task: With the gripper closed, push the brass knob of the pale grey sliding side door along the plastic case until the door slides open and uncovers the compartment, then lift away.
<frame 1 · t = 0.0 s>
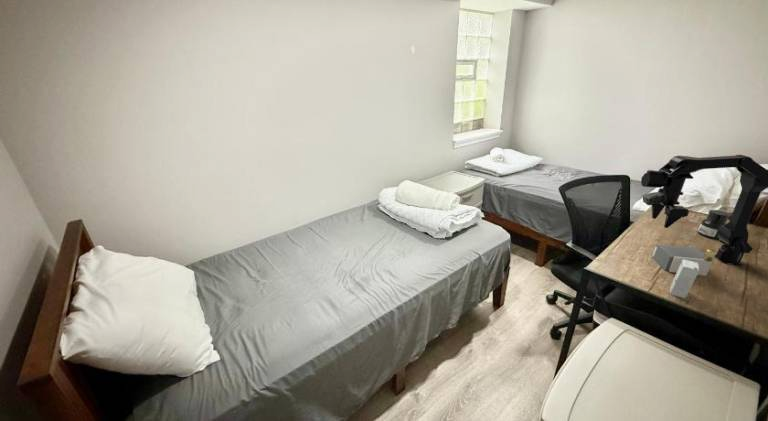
hand: (659, 222, 131), 15 cm above the table, tool pointing down, fingers open, 9 cm apart
side door: (692, 261, 120), point 6 cm above the table, slide at 0.0 cm
case: (677, 265, 127), on the table
ink bottle: (709, 235, 151), on the table
skincare box: (677, 293, 112), on the table
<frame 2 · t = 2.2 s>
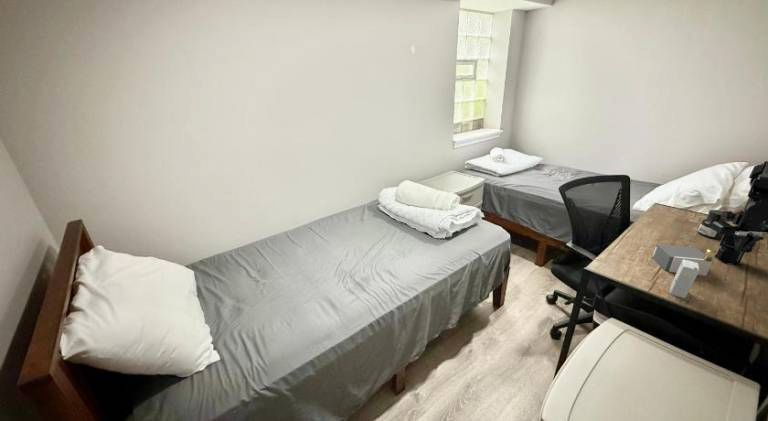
hand: (737, 250, 115), 12 cm above the table, tool pointing down, fingers closed
nothing on the table moved.
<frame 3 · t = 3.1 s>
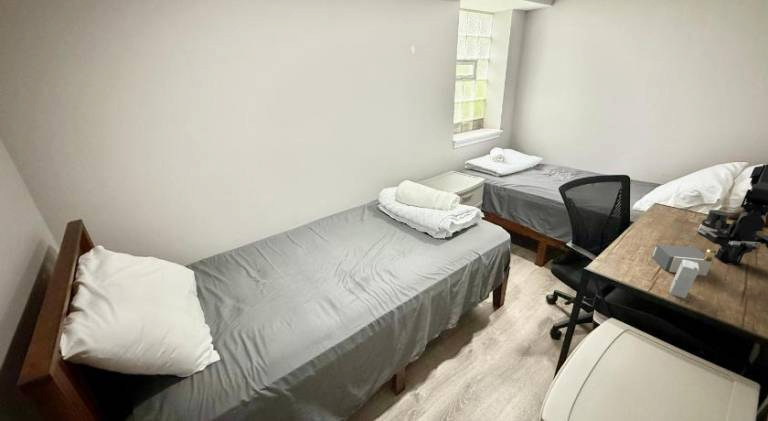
hand: (731, 259, 116), 8 cm above the table, tool pointing down, fingers closed
nothing on the table moved.
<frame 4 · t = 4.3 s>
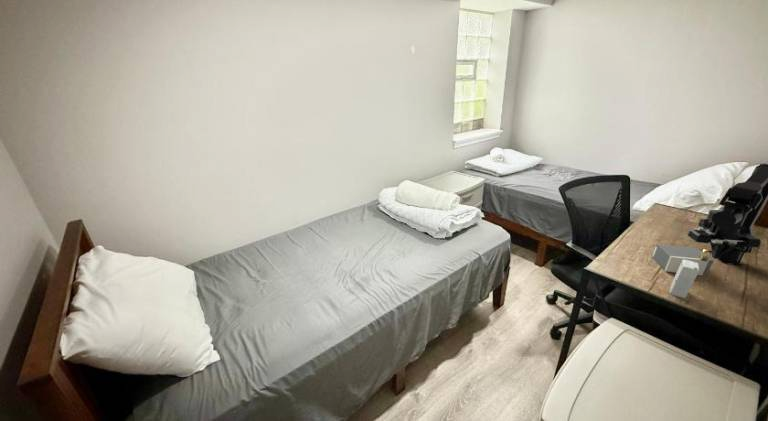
hand: (714, 258, 117), 8 cm above the table, tool pointing down, fingers closed
side door: (688, 261, 120), point 6 cm above the table, slide at 1.3 cm, touching gripper
everything else where it was.
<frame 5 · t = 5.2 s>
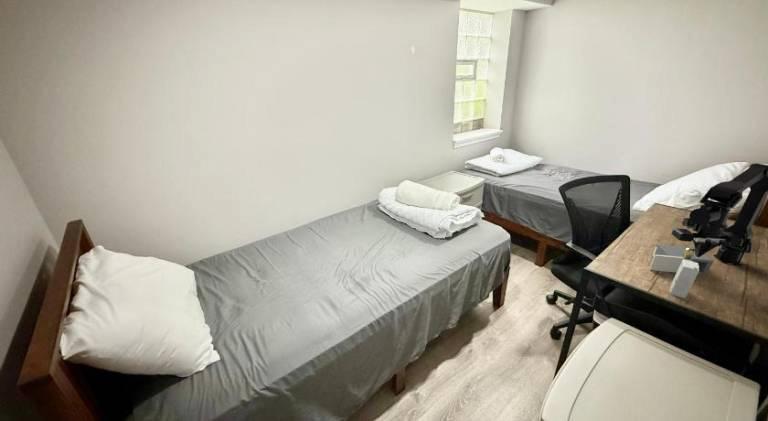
hand: (697, 256, 119), 8 cm above the table, tool pointing down, fingers closed
side door: (671, 259, 121), point 6 cm above the table, slide at 6.6 cm, touching gripper
everything else where it was.
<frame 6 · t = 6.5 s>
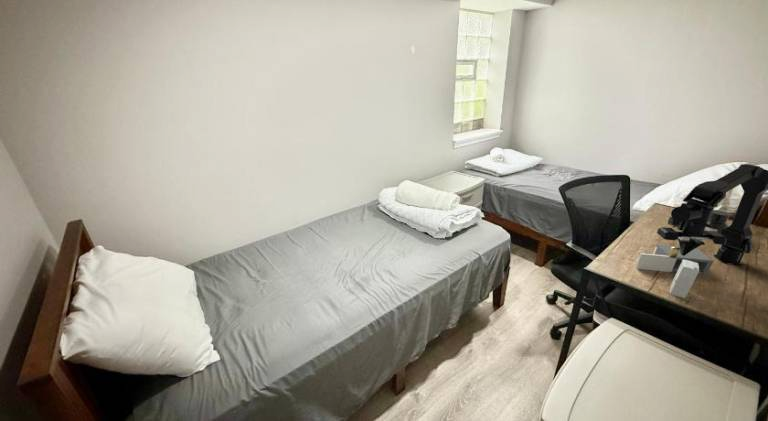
hand: (682, 255, 120), 8 cm above the table, tool pointing down, fingers closed
side door: (657, 258, 123), point 6 cm above the table, slide at 11.4 cm, touching gripper
everything else where it was.
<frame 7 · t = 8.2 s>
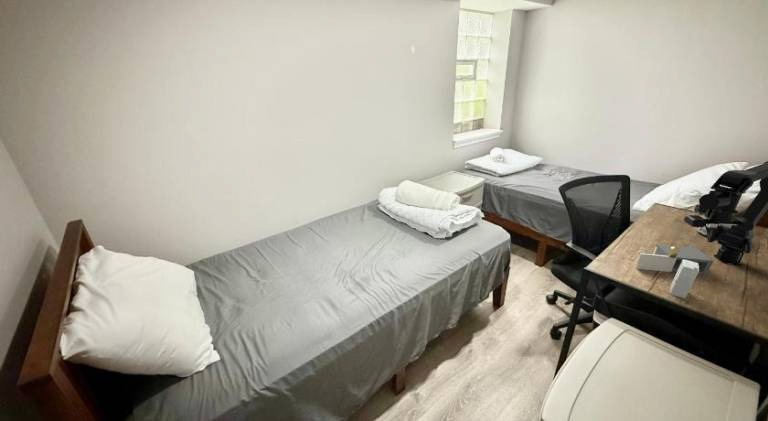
hand: (709, 241, 122), 12 cm above the table, tool pointing down, fingers closed
side door: (657, 258, 123), point 6 cm above the table, slide at 11.5 cm
everything else where it was.
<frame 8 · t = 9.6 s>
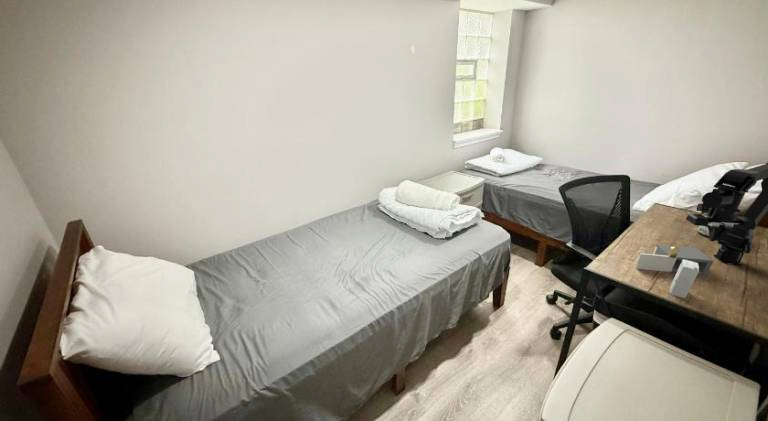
hand: (711, 240, 122), 12 cm above the table, tool pointing down, fingers closed
nothing on the table moved.
at the end: side door slide at 11.5 cm; side door 0.5 cm from the target spot, resting on case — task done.
